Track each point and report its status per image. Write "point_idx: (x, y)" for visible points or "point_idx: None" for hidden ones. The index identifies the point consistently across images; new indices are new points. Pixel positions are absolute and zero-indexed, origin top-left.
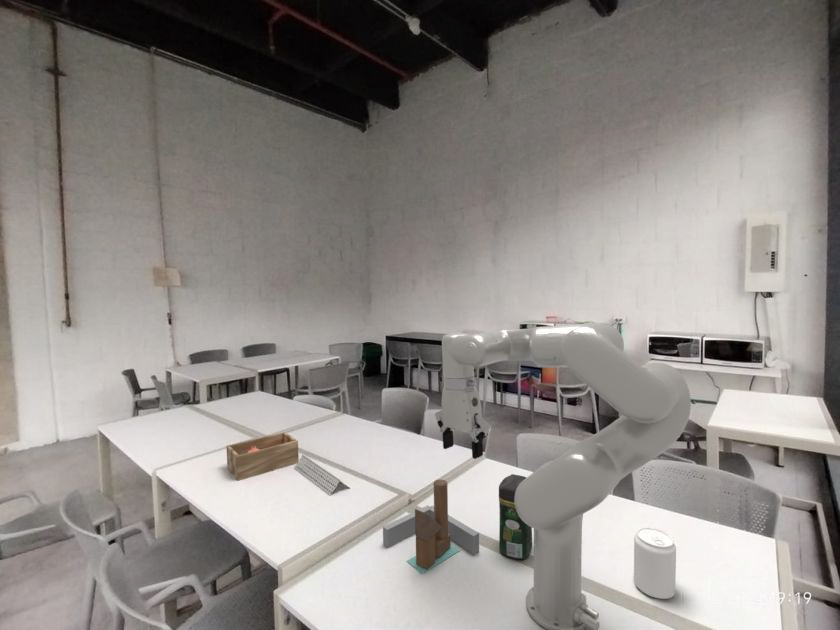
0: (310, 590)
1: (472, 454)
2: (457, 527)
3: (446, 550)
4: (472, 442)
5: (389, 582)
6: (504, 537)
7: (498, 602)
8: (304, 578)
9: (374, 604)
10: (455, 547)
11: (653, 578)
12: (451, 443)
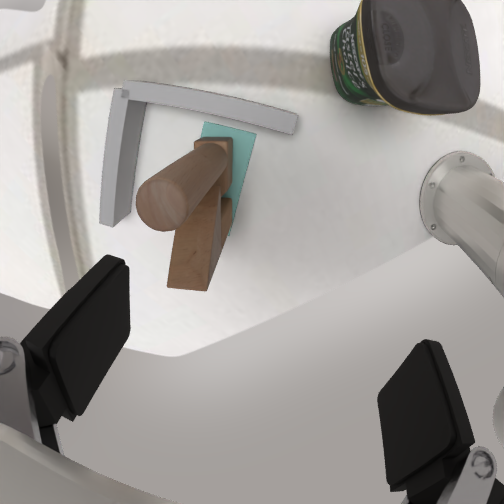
0: None
1: (382, 418)
2: (233, 118)
3: (232, 155)
4: (395, 490)
5: None
6: (363, 101)
7: (379, 226)
8: None
9: (210, 316)
10: (242, 131)
11: None
12: (116, 297)
